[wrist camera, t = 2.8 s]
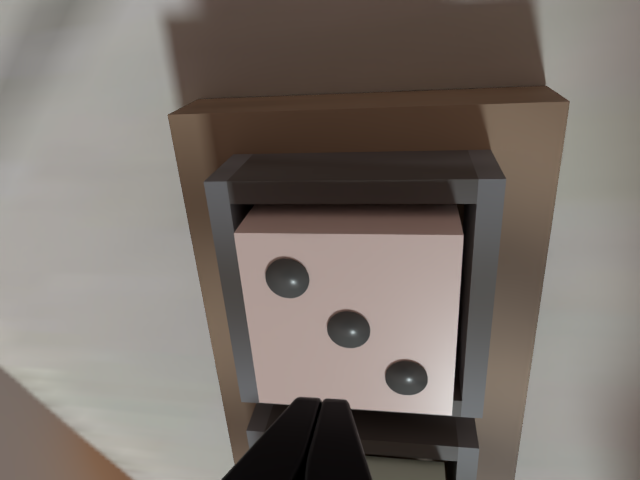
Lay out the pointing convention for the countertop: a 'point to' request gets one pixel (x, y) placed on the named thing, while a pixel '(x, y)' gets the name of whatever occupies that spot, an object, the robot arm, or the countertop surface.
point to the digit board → (389, 188)
